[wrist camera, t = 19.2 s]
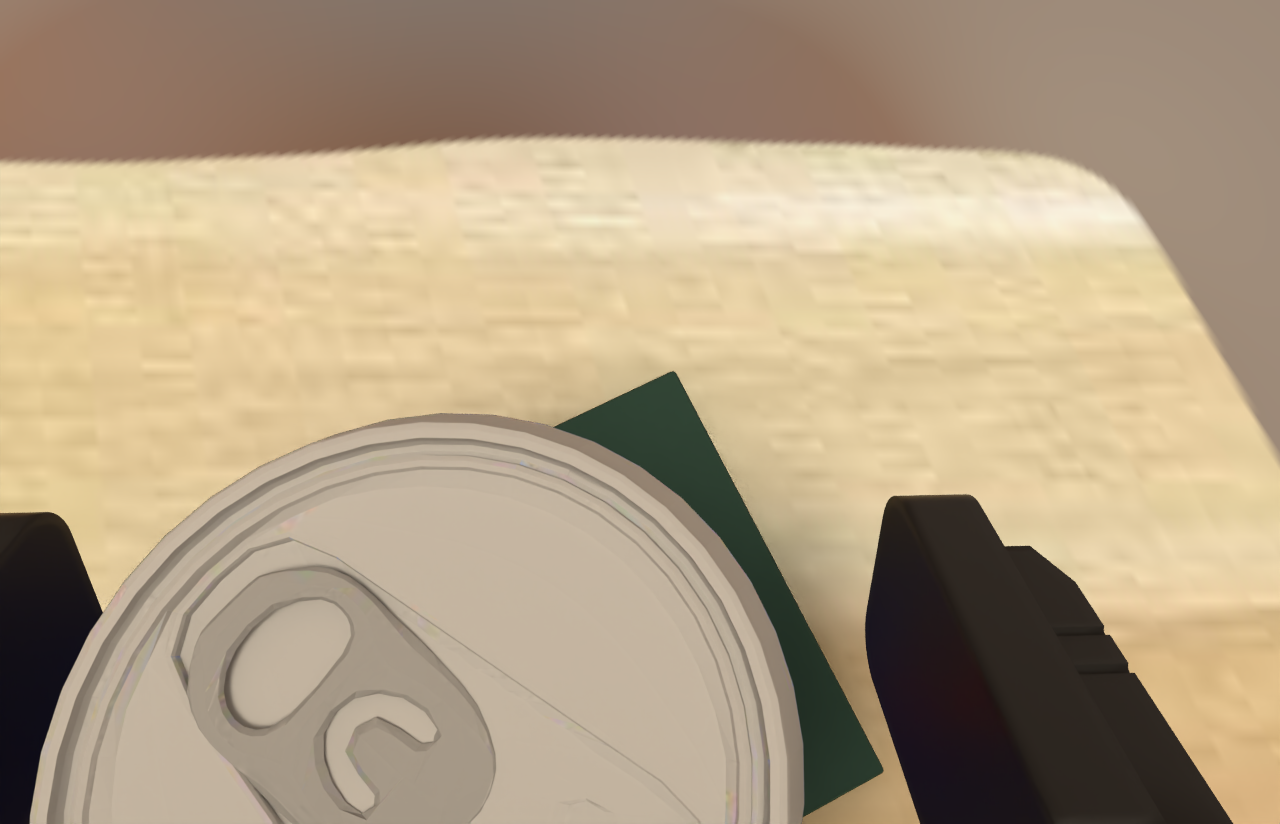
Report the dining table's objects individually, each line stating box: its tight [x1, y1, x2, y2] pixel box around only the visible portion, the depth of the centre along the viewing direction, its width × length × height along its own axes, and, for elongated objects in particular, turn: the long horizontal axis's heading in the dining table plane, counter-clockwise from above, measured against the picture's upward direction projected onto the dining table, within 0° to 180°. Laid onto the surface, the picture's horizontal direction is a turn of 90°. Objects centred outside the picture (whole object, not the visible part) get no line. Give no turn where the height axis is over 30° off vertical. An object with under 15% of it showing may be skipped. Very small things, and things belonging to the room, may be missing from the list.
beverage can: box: [30, 413, 804, 824], centre depth 13 cm, size 5×5×15 cm
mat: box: [553, 371, 883, 817], centre depth 21 cm, size 11×10×1 cm
